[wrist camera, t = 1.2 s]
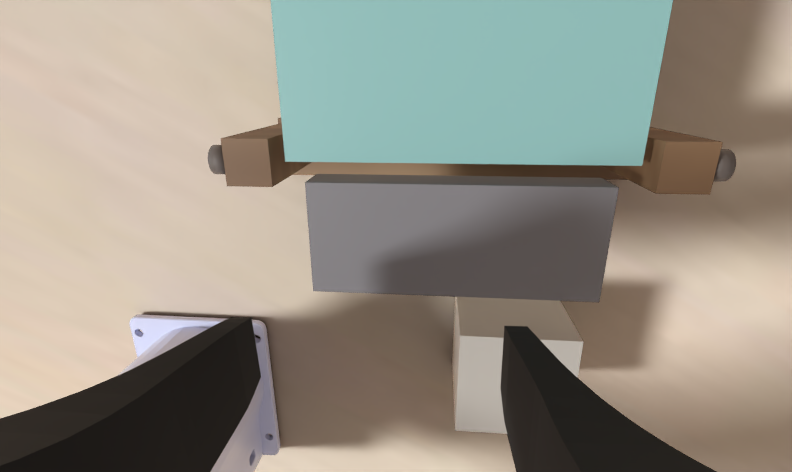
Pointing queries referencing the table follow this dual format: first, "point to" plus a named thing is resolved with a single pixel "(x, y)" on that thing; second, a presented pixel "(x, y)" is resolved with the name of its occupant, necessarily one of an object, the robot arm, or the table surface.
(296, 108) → the trapdoor
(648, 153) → the frame
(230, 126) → the table surface
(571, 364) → the light grey cube
